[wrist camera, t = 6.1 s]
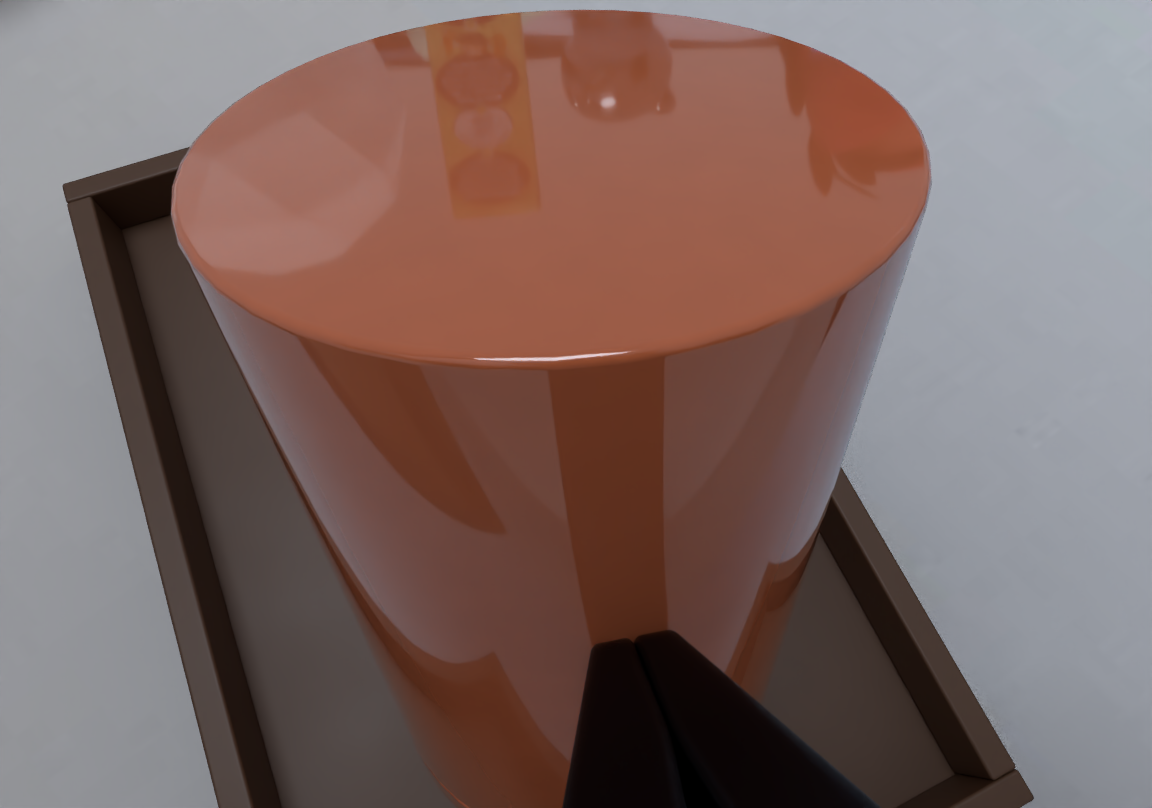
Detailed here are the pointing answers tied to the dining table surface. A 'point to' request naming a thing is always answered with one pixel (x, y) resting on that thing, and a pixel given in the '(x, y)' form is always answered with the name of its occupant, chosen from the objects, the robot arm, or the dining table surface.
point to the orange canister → (556, 343)
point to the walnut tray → (328, 628)
